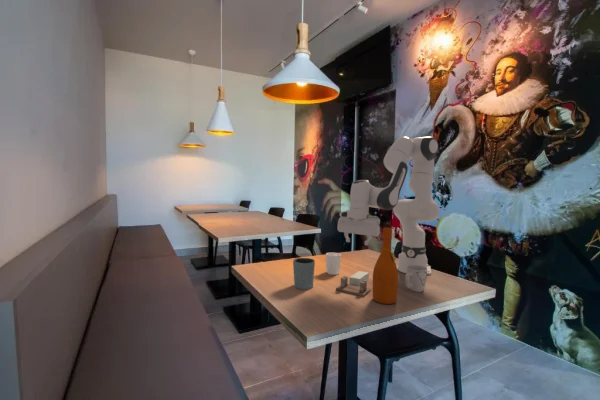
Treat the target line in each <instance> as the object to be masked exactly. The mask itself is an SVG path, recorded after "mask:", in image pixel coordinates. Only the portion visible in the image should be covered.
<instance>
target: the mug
mask: <svg viewBox="0 0 600 400" xmlns="http://www.w3.org/2000/svg"><path fill="white" fill-rule="evenodd" d="M404 278H405V279H404V280H405V281H404V282H405V287H406V288H408V289H409V290H410V291H412V292H417V293H421V292H423V291H424V290H425V286H426V282H427V268H426V267H423V266H418V265H409V266H407V274H406V273H405V275H404Z"/></svg>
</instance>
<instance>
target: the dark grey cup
mask: <svg viewBox="0 0 600 400" xmlns="http://www.w3.org/2000/svg"><path fill="white" fill-rule="evenodd" d="M292 265H293V269H292V270H293V281H294V282H293V283H294V284H293V285H294V288H295V289H298V290H311V289H313V288H314V282H315V281H314V280H315V276H314V275H315V265H316V260H315V259H314V258H310V257H309V258H308V257H297V258H294V259H292Z"/></svg>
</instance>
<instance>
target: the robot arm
mask: <svg viewBox="0 0 600 400" xmlns="http://www.w3.org/2000/svg"><path fill="white" fill-rule="evenodd" d="M438 151H439V143H438V141H437V139H436V138H435V137H434V136H422V137H421V136H418V137H414V138H409V137H408V136H400V137H397V139H395V141H393V143H392V145H391V146H390V147H389V148H388V150H387V152H386V153H385V156H384V158H383V165H384V167H385V168H386V169H387V171H388V172H389V173H391V174H392V176H391V179H390V182H389V183H388V185H386V186H385V187H376V186H374V185H372V184H371V183H370V182H369V180H368V179H358V180H354V181H353V182H352V184H351V187H350V195H349V198H350V199H349V200H350V205H349V210H344V211H341V212H339V218H338V221H337V231H338V232H339V233H343V235H344V238H345V242H346V243H351V238H350V237H349V234H353V235H355V234H356V235H362V236H366V238H367V239H366V240H364V245H365V246H369V245H370V241H371V240H372V237H378V236H380V233H381V231H380V230H381V228H380V224H381V219H380V218H379V217H378V216H377V215H370V211H369V210H370V208H376V209H381V210H386V211H391V210H392V211H393V214H394V215H395V217H396V218H397V219H398V220H399V222H400V225H401V228H402V245H401V253H399V254H398V258H397V259H398V261H397V265H396V266H397V270H398V272H401V273H403V274H405V275H406V274H407V266H409V265H418V266H423V267H426V268H427V275H429V276H431V275H432V268H431V267H432V266H431V265H429V264H428V258H427V254H426V251H427V249H426V244H425V243H426V232H425V230H424V229H423V228H422V227H421V226H420V225H419V223H418V221H419V222H423V223H424V222H426V223H427V222H433V221H434V222H435V221H436V220H437V219H438V217H439V216H440V214H441V213H440V212H441V211H440V210H441V209H440V206H439V205H438V204H437V203H436V201H435V200H434V198H433V195H432V185H433V178H434V174H435V173H434V172H435V159H434V158H435V157H436V155H437V152H438ZM409 160H413V162H414V163H413V167H412V168H411V169H412V170H411V175H410V178H409V183H408V186H409V189H410V191H411V192H412V193H414V199H410V198H403V199H400V198H399V197H400V193H401V190H402V188H403V185H404V182H405V180H406V177H407V175H408V170H409V169H408V168H409V167H408V165H407V164H408V161H409Z"/></svg>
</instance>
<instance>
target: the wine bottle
mask: <svg viewBox="0 0 600 400" xmlns="http://www.w3.org/2000/svg"><path fill="white" fill-rule="evenodd" d="M392 237H393V236H392V228H391V227H386V226H385V227H383V228H382V239H383V242H382V248H381V251H380V254H379V256H378V258H377V259H376V262H375V264H374V268H373V271H372V272H373V273H372V298H373V300H374V301H375V302H376V303H379V304H383V305H384V304H385V305H391V304H395V303H396V302H397V299H398V289H399V270H397V266H398V265H396V255H395V252H394V251H392V249H391V240H392V239H393V238H392Z"/></svg>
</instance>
